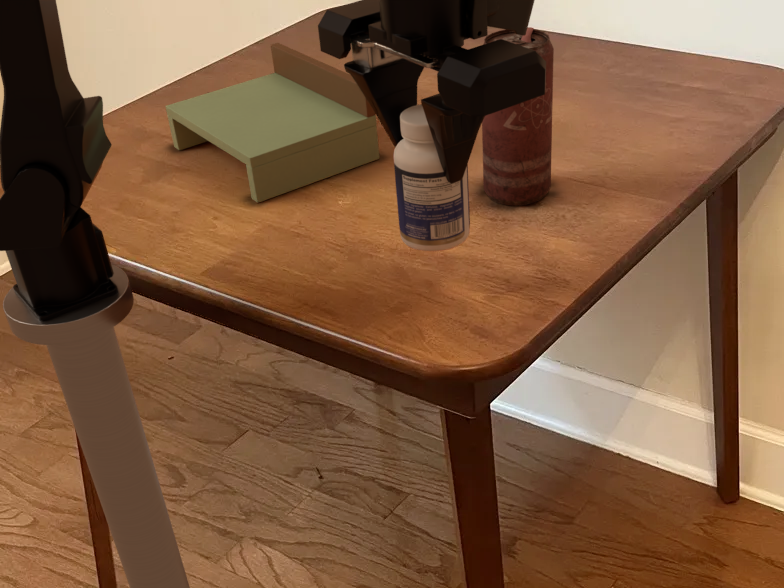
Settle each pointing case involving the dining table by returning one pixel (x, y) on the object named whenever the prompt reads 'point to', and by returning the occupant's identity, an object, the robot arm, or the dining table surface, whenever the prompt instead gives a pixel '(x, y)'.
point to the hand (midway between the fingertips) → (431, 169)
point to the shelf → (283, 124)
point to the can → (520, 135)
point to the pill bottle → (427, 190)
